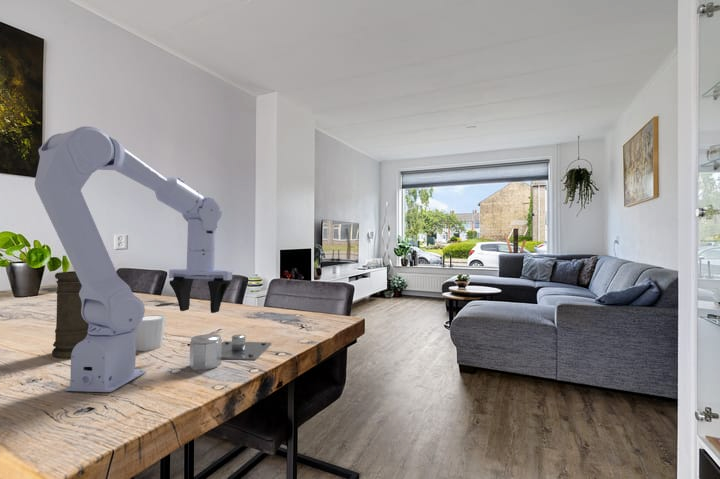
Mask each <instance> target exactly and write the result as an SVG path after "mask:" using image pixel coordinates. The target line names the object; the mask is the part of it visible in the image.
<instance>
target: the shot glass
mask: <svg viewBox="0 0 720 479" xmlns="http://www.w3.org/2000/svg"><path fill="white" fill-rule="evenodd" d="M165 324H166V316H165V315H157V314H156V315H155V314H152V315H144V317H143V319H142V321H141V322H140V323H139V324H138V325H137V330H136V351H139V352H142V351H143V352H145V351H146V352H147V351H152V350H157V349H159V348H162V347H163V342H164V341H163V340H164V332H165Z"/></svg>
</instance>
